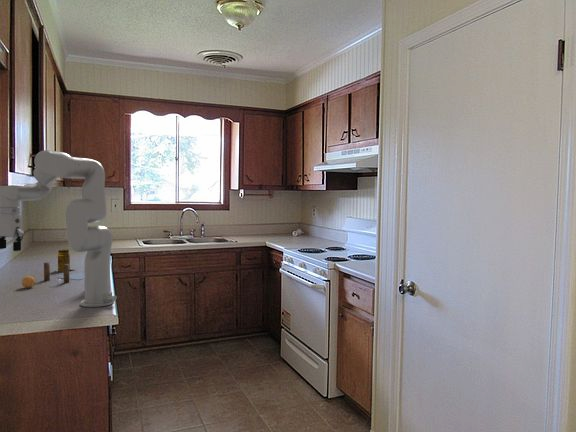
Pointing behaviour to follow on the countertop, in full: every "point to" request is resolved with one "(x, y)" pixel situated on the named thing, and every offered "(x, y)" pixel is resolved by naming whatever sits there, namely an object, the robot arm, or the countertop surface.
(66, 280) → the right post
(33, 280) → the ball
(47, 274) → the left post
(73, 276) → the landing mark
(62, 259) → the condiment
